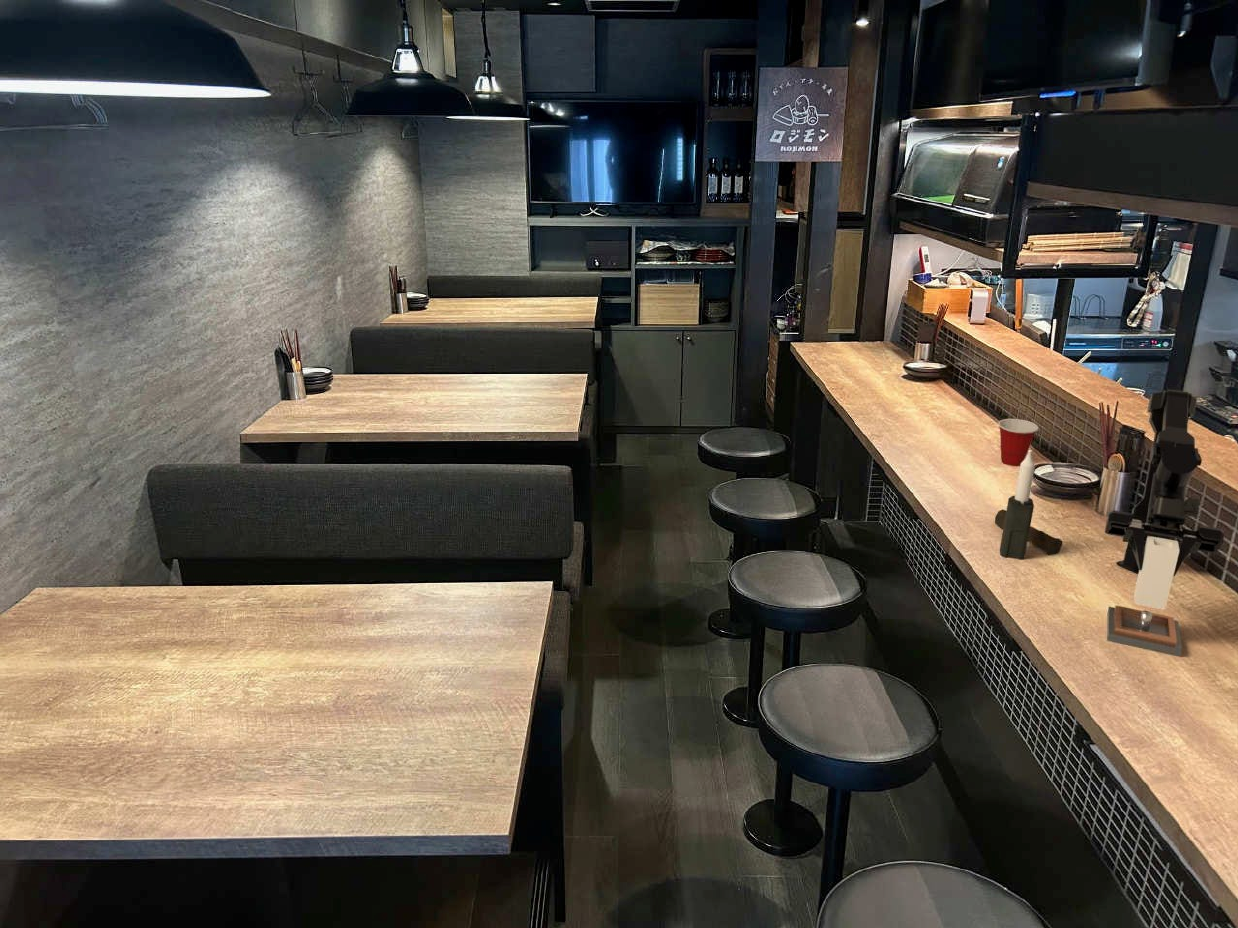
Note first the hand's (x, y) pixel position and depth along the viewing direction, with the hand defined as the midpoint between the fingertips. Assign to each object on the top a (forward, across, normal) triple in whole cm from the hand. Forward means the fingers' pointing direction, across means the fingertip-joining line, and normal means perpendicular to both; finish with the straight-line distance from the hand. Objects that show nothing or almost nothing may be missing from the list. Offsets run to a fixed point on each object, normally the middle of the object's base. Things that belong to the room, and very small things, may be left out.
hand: (1156, 572), depth 170 cm
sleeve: (+4, 0, +6) cm, 7 cm away
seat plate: (+9, 0, +10) cm, 14 cm away
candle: (-10, -26, +30) cm, 40 cm away
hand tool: (-17, -24, +37) cm, 48 cm away
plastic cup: (-58, -32, +78) cm, 103 cm away
